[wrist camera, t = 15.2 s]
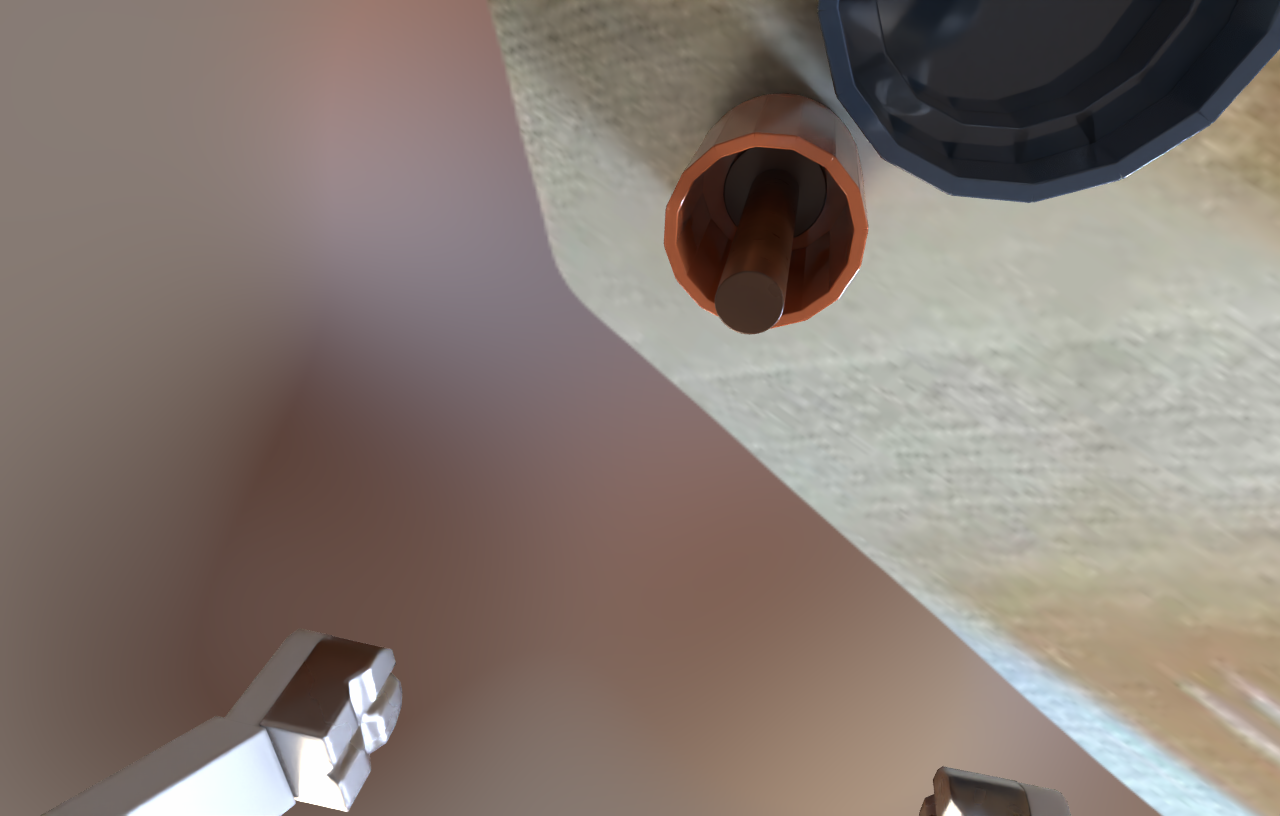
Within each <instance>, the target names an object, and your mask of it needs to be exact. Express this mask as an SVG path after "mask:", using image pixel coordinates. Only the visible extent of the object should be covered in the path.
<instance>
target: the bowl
mask: <svg viewBox="0 0 1280 816" xmlns="http://www.w3.org/2000/svg"><path fill="white" fill-rule="evenodd" d="M817 9H818V13H817V14H818V18H819V22H820V27H821V31H822V36H823V40H824V45H825V49H826V54H827V58H828V63H829V67H830V72H831V76H832V81H833V85H834V90H835V94H836V95H837V98H838V100H839V101H840V102H841V104H842V105H843V106H844V108H845V109H846V111H847V112H848V113H849V115H850V116H851V117H852V119H853V120H854V121H855V123H856V124H857V125H858V127H859V128H860V129H861V131H862V132H863V134H864V135H865V136H866V138H867V139H868V140H869V142H870V143H871V144H872V146H873V147H874V148H875V150H876V151H877V153H878V154H879V155H880V157H881V158H883V159H884V160H885V161H887V162H889V163H891V164H893V165H894V166H896V167H898V168H900V169H902V170H904V171H905V172H907V173H909V174H911V175H913V176H915V177H916V178H918V179H920V180H922V181H924V182H926V183H927V184H929V185H931V186H933V187H935V188H937V189H939V190H940V191H942V192H944V193H946V194H948V195H952V196H961V197H972V198H983V199H993V200H1004V201H1014V202H1025V203H1031V202H1038V201H1041V200H1045V199H1049V198H1053V197H1057V196H1061V195H1065V194H1068V193H1072V192H1076V191H1080V190H1084V189H1088V188H1092V187H1095V186H1099V185H1103V184H1107V183H1111V182H1115V181H1119V180H1121V179H1124V178H1126V177H1127V176H1129V175H1131V174H1132V173H1134V172H1135V171H1137V170H1139V169H1140V168H1142V167H1143V166H1145V165H1147V164H1148V163H1150V162H1151V161H1153V160H1155V159H1156V158H1158V157H1160V156H1161V155H1163V154H1164V153H1166V152H1168V151H1169V150H1171V149H1172V148H1174V147H1176V146H1177V145H1179V144H1181V143H1182V142H1184V141H1185V140H1187V139H1189V138H1190V137H1192V136H1193V135H1195V134H1197V133H1198V132H1200V131H1202V130H1203V129H1205V128H1206V127H1208V126H1210V125H1211V123H1214V121H1215V120H1216V119H1217V118H1218V117H1219V116H1220V115H1221V114H1222V113H1223V111H1224V110H1225V109H1226V108H1227V107H1228V106H1229V105H1230V104H1231V103H1232V101H1233V100H1234V99H1235V98H1236V97H1237V96H1238V95H1239V94H1240V93H1241V91H1242V90H1243V89H1244V88H1245V87H1246V86H1247V85H1248V84H1249V83H1250V81H1251V80H1252V79H1253V78H1254V77H1255V76H1256V75H1257V74H1258V73H1259V71H1260V70H1261V69H1262V68H1263V67H1264V66H1265V65H1266V64H1267V63H1268V61H1269V60H1270V59H1271V58H1272V57H1273V56H1274V55H1275V54H1276V53H1277V51H1278V50H1279V49H1280V0H818V7H817Z"/></svg>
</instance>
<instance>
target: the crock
mask: <svg viewBox="0 0 1280 816" xmlns="http://www.w3.org/2000/svg"><path fill="white" fill-rule="evenodd" d="M753 147H766V148H777V149H789V150H794V151H796V152H797V153H799V154H801V155H803V156H805V157H807V158H808V159H810V160H812V161H814V162H816V163H818V164H820V165H821V166H823V167H824V169H825V172H826V177H827V195H826V201H825V205H824V207H823V210H822V212H821V214H820V216H819V217H818V219H817V220H816V222H815V223H814V224H813V225H812V226H811V227H810V228H809V229H808V230H807V231H805V232H804V233H802V234H801V235H799V236H797V237H795V238H793V243H792V251H791V258H790V266H789V273H788V281H787V288H786V296H785V303H784V309H783V313H782V315H781V317H780V319H779V320H778V322H777V323H776V324H775V325H774V326H773V327H771V328H775V327H780V326H784V325H788V324H793V323H797V322H801V321H805V320H808V319H809V318H811V317H812V316H814V315H815V314H817V313H818V312H820V311H821V310H823V309H824V308H826V307H827V306H829V305H830V304H832V303H833V302H835V301H836V300H838V299H839V298H840V296H841V295H842V293H843V292H844V291H845V289H846V288H847V286H848V285H849V283H850V282H851V280H852V279H853V278H854V276H855V275H856V273H857V272H858V270H859V269H860V266H861V263H862V258H863V254H864V249H865V244H866V239H867V234H868V219H867V210H866V201H865V192H864V183H863V175H862V170H861V165H860V160H859V154H858V151H857V147H856V143H855V141H854V140H853V137H852V135H851V133H850V132H849V130H848V129H847V127H846V125H845V124H844V123H843V122H842V121H841V119H840V118H839V117H838V116H837V115H836V114H835V113H833V112H832V111H831V110H830V109H829V108H827V107H826V106H824V105H822V104H821V103H819V102H817V101H815V100H813V99H810V98H807V97H804V96H801V95H796V94H789V93H774V94H766V95H762V96H758V97H754V98H752V99H749V100H747V101H745V102H742V103H741V104H739V105H737V106H736V107H734V108H733V109H731V110H730V111H729V112H727V113H726V114H725V115H724V116H723V117H722V118H721V119H720V120H719V121H718V122H717V123H716V124H715V125H714V126H713V127H712V128H711V129H710V130H709V131H708V133H707V135H706V136H705V138H704V139H703V141H702V143H701V144H700V146H699V148H698V149H697V151H696V152H695V154H694V156H693V157H692V159H691V160H690V162H689V164H688V165H687V167H686V168H685V170H684V172H683V173H682V175H681V177H680V179H679V181H678V183H677V185H676V188H675V190H674V192H673V194H672V196H671V198H670V200H669V202H668V204H667V206H666V212H665V231H664V247H665V250H666V253H667V256H668V259H669V261H670V264H671V267H672V270H673V273H674V275H675V278H676V279H677V281H678V283H679V284H680V285H681V286H682V287H683V288H684V289H685V290H686V292H687V293H688V294H689V295H690V296H691V297H692V298H693V300H694V301H695V302H696V303H697V304H698V305H699V306H700V307H701V308H703V309H705V310H707V311H709V312H710V313H712V314H714V315H716V316H718V314H717V312H716V308H715V295H716V292H717V289H718V285H719V282H720V279H721V276H722V273H723V270H724V267H725V264H726V261H727V258H728V255H729V252H730V249H731V246H732V242H733V239H734V236H735V233H736V230H737V226H736V225H735V224H734V223H733V221H732V220H731V218H730V217H729V215H728V213H727V210H726V207H725V203H724V196H723V190H724V182H725V178H726V175H727V173H728V171H729V168H730V166H731V164H732V162H733V160H734V159H735V157H736V156H737V155H738V154H739V153H740V152H741V151H743V150H746V149H750V148H753ZM718 317H719V316H718Z"/></svg>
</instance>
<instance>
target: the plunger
mask: <svg viewBox="0 0 1280 816" xmlns="http://www.w3.org/2000/svg"><path fill="white" fill-rule="evenodd" d="M826 195H827V177H826V172H825V169H824V167H823V166H821V165H820V164H818V163H816V162H814V161H812V160H810V159H808V158H807V157H805V156H803V155H801V154H799V153H797V152H796V151H794V150H789V149H777V148H766V147H753V148H750V149H746V150H743V151H741V152H740V153H739V154H738V155H737V156H736V157H735V159H734V160H733V162H732V164H731V166H730V168H729V171H728V173H727V175H726V178H725V182H724V190H723V196H724V203H725V207H726V210H727V213H728V215H729V217H730V218H731V220H732V221H733V223H734V224H735V225H736V226H737V230H736V233H735V236H734V239H733V242H732V246H731V249H730V252H729V255H728V258H727V261H726V264H725V267H724V270H723V273H722V276H721V279H720V282H719V285H718V289H717V292H716V295H715V308H716V312H717V314H718V316H719V318H720V319H721V321H722V322H723V323H724V324H725V325H726V326H727V327H729V328H730V329H732V330H734V331H736V332H739V333H743V334H757V333H761V332H764V331H766V330H768V329H770V328H771V327H773V326H774V325H775V324H776V323H777V322H778V320H779V319H780V317H781V315H782V313H783V309H784V303H785V296H786V288H787V281H788V273H789V266H790V258H791V251H792V243H793V238H795V237H797V236H799V235H801V234H802V233H804V232H805V231H807V230H808V229H809V228H810V227H811V226H812V225H813V224H814V223H815V222H816V220H817V219H818V217H819V216H820V214H821V212H822V210H823V207H824V205H825V201H826Z"/></svg>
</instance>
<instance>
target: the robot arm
mask: <svg viewBox="0 0 1280 816" xmlns="http://www.w3.org/2000/svg"><path fill="white" fill-rule="evenodd" d="M395 664H396V662H395V658H394V655H393V651H392V649H388V648H384V647H379V646H375V645H370V644H366V643H361V642H357V641H352V640H348V639H344V638H339V637H335V636H332V635H328V634H323V633H318V632H313V631H309V630H304V629H298V630H297V631H295V632H294V633H292V634H291V635H290V636H288V637H287V638H286V640H285V641H284V642H283V644H282V645H281V646H280V647H279V649H278V650H277V651H276V653H275V654H274V655H273V656H272V658H271V659H270V660H269V661H268V663H267V664H266V666H265V667H264V668H263V669H262V671H261V672H260V673H259V674H258V676H257V677H256V678H255V679H254V681H253V682H252V683H251V685H250V686H249V687H248V689H247V690H246V691H245V692H244V694H243V695H242V696H241V697H240V699H239V700H238V701H237V703H236V704H235V705H234V706H233V708H232V709H231V710H230V712H229V713H228V714H227V715H226V717H225V718H224V717H219V716H215V717H213V718H211V719H210V720H208V721H206V722H205V723H203V724H201V725H199V726H197V727H196V728H194V729H192V730H191V731H189V732H187V733H185V734H183V735H181V736H180V737H178V738H176V739H175V740H173V741H171V742H169V743H167V744H166V745H164V746H162V747H160V748H159V749H157V750H155V751H153V752H152V753H150V754H148V755H146V756H145V757H143V758H141V759H139V760H137V761H136V762H134V763H132V764H130V765H129V766H127V767H125V768H123V769H122V770H120V771H118V772H116V773H115V774H113V775H111V776H109V777H108V778H106V779H104V780H102V781H101V782H99V783H97V784H95V785H94V786H92V787H90V788H88V789H86V790H85V791H83V792H81V793H79V794H78V795H76V796H74V797H73V798H70V799H69V800H67V801H65V802H63V803H62V804H60V805H58V806H56V807H55V808H53V809H51V810H49V811H48V812H46V813H44V814H42V815H41V816H281V815H282V814H283V813H285V812H286V811H287V810H288V809H290V808H291V807H292V806H293V805H295V803H296V802H295V800H298V801H303V802H307V803H312V804H316V805H321V806H325V807H330V808H334V809H339V810H343V811H348V810H349V809H350V807H351V805H352V803H353V801H354V800H355V798H356V796H357V794H358V793H359V791H360V789H361V787H362V785H363V783H364V782H365V780H366V778H367V776H368V775H369V772H370V771H371V764H370V756H369V754H370V753H371V752H373V751H375V750H376V749H378V748H379V747H380V746H382V745H384V744H385V743H386V742H387V740H388V738H389V736H390V734H391V733H392V731H393V729H394V727H395V725H396V722H397V718H398V715H399V712H400V709H401V705H402V688H401V684H400V681H399V680H398V679H397V678H396V677H395V676H394V675H393V674H392V673H391V671H392V669H393V667H394V666H395ZM933 785H934V794H933V795H931V796H929V797H926V798H925V799H924V802H923V804H922V807H921V810H920V813H919V816H1071V814H1070V810H1069V806H1068V803H1067V801H1066V799H1065V798H1064V796H1063V795H1062V793H1061V792H1059V791H1057V790H1054V789H1049V788H1043V787H1038V786H1034V785H1028V784H1023V783H1018V782H1017V781H1014V780H1009V779H1004V778H998V777H994V776H989V775H983V774H979V773H973V772H968V771H963V770H958V769H953V768H948V767H941V768H939V769H938V770H937V772H936V774H935V776H934V779H933Z"/></svg>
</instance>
